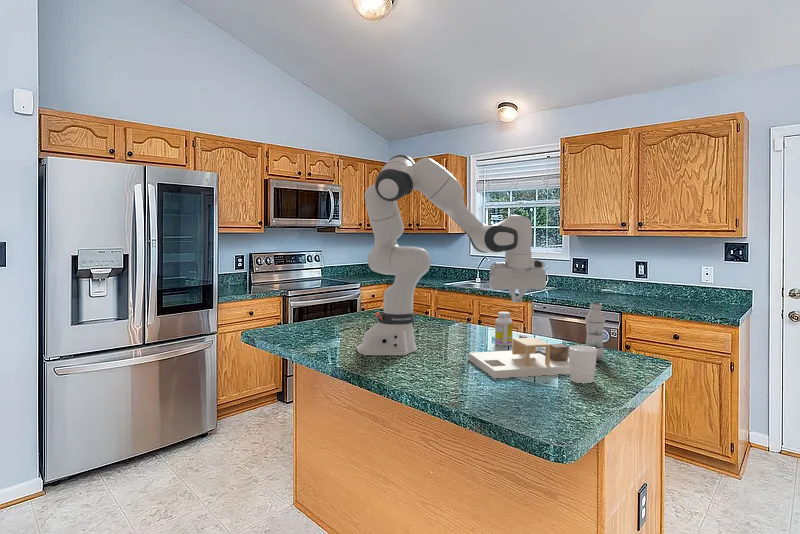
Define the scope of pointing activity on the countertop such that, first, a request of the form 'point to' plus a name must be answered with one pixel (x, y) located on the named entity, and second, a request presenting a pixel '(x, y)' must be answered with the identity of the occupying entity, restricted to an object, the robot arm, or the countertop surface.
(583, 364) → the white cup
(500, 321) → the supplement bottle
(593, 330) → the plastic bottle
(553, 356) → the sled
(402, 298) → the robot arm
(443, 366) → the countertop surface
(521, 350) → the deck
